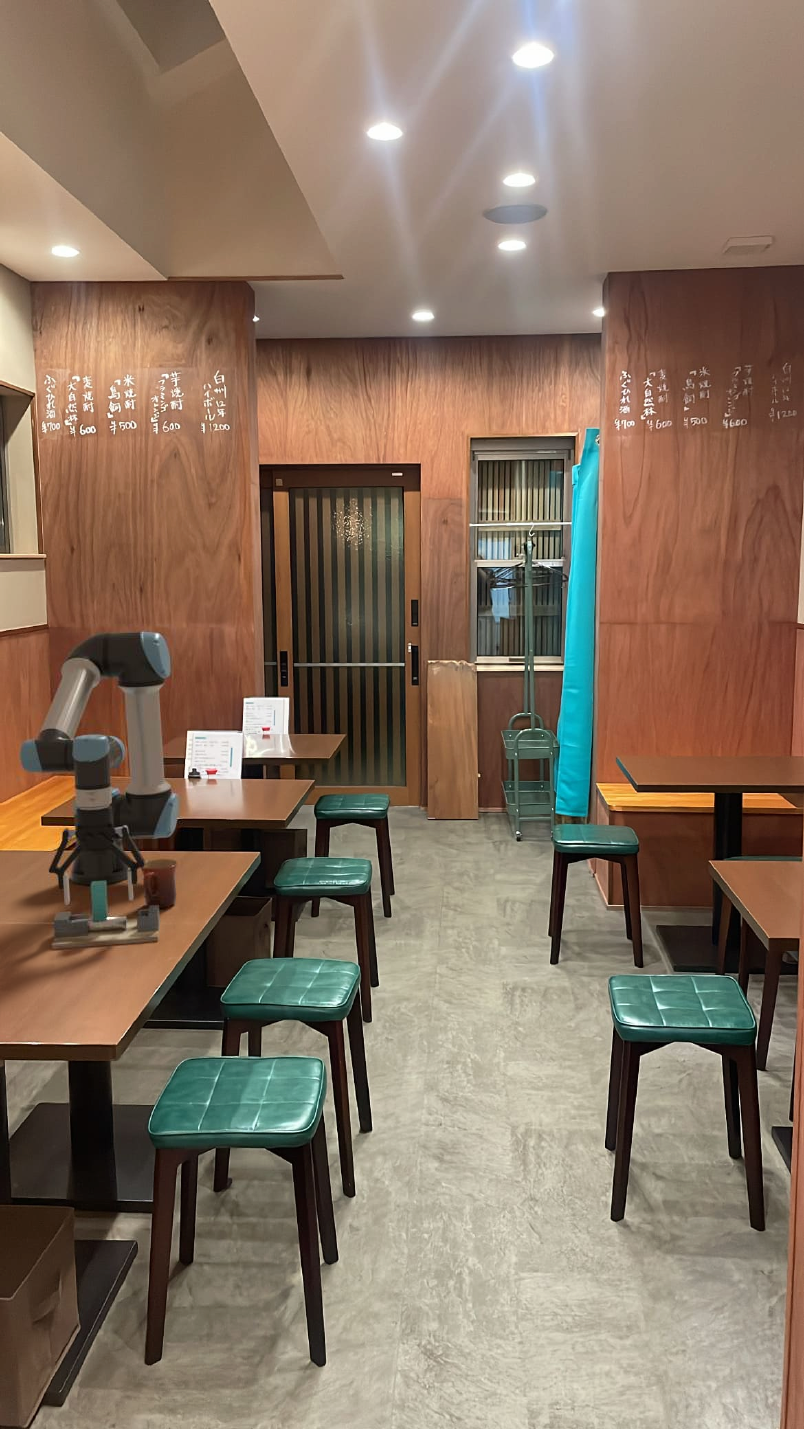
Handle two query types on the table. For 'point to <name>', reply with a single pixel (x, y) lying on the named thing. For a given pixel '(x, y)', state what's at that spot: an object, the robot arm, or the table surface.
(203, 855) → the table surface
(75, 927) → the bracket
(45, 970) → the table surface
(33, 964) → the table surface
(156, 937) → the board
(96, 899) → the teal and grey t-piece
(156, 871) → the mug
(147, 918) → the socket
